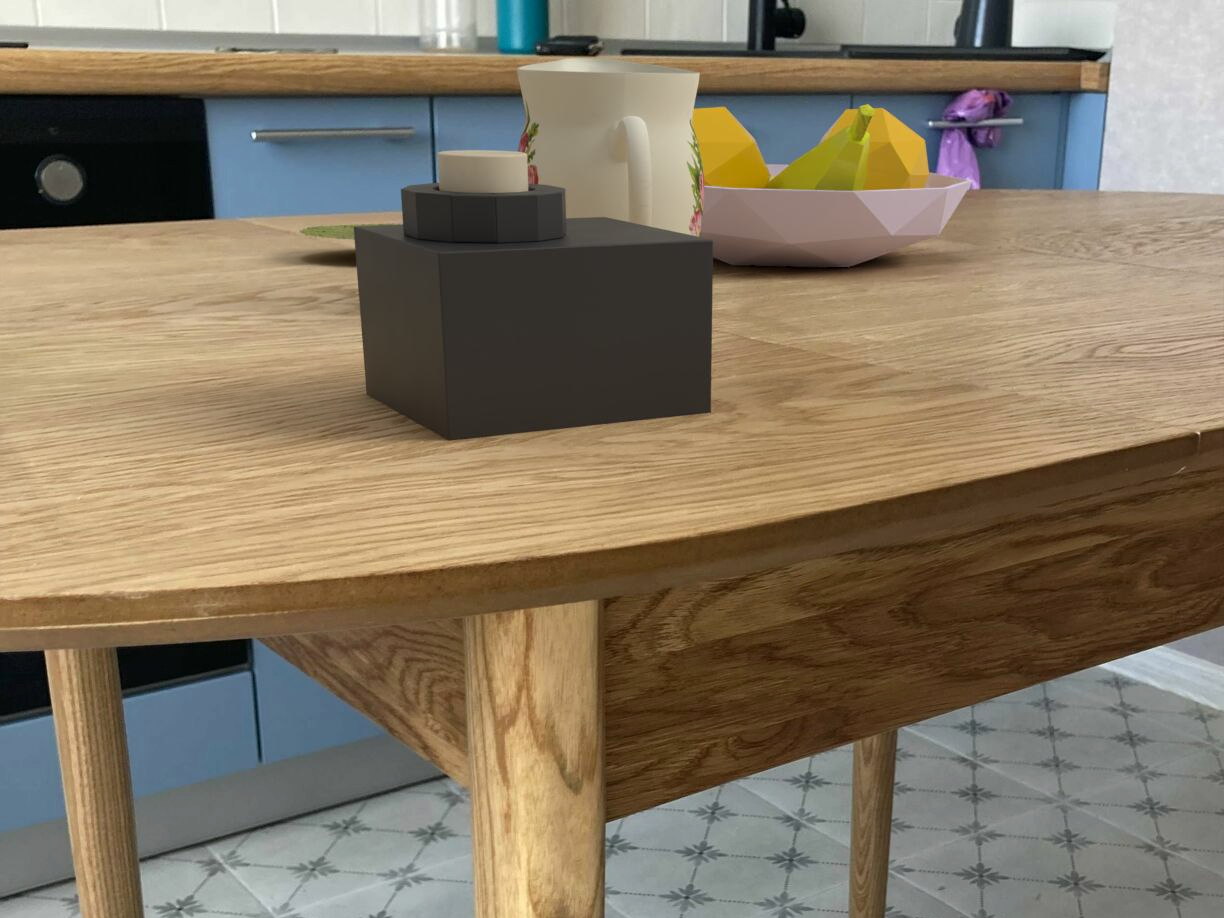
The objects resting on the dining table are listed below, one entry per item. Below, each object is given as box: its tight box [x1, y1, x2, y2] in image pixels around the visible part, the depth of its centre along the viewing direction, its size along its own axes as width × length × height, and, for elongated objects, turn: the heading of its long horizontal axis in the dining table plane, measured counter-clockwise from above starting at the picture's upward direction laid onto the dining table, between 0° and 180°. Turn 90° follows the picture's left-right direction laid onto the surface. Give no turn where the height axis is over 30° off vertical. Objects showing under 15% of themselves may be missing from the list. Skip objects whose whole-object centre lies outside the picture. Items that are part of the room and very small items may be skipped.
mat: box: [299, 223, 401, 241], centre depth 113 cm, size 11×11×2 cm
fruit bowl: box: [692, 103, 974, 268], centre depth 115 cm, size 28×27×11 cm
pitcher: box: [516, 57, 704, 237], centre depth 89 cm, size 11×18×14 cm, turn 14°
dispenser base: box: [354, 182, 714, 442], centre depth 66 cm, size 12×10×9 cm
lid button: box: [437, 149, 528, 193], centre depth 63 cm, size 4×4×2 cm
